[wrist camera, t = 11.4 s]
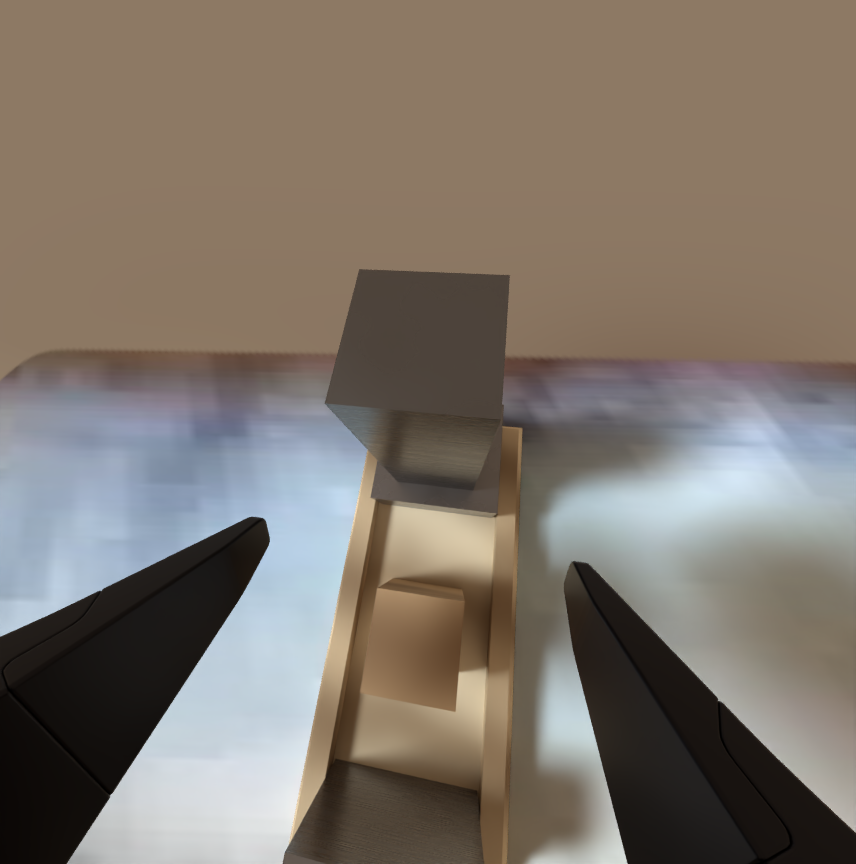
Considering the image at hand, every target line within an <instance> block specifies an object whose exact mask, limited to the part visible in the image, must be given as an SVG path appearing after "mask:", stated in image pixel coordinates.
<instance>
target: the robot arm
mask: <svg viewBox="0 0 856 864" xmlns="http://www.w3.org/2000/svg"><path fill="white" fill-rule="evenodd" d="M269 542H270V537H269V533H268V528H267V524H266V521H265V519H263V518H259V517H249V518H247V519H245V520H242V521H240V522H238V523H236V524H234V525H232V526H230V527H228V528H226V529H224V530H222V531H220V532H218V533H216V534H214V535H212V536H210V537H208V538H206V539H204V540H202V541H200V542H198V543H196V544H194V545H192V546H190V547H188V548H185V549H183V550H181V551H179V552H177V553H175V554H173V555H171V556H169V557H167V558H165V559H163V560H161V561H159V562H157V563H155V564H153V565H151V566H149V567H147V568H145V569H143V570H141V571H139V572H137V573H135V574H132V575H130V576H128V577H126V578H124V579H122V580H120V581H118V582H116V583H114V584H112V585H110V586H108V587H106V588H104V589H103V590H102V591H98V592H96V593H94V594H92V595H90V596H88V597H86V598H84V599H81V600H79V601H77V602H75V603H73V604H71V605H69V606H67V607H65V608H63V609H61V610H58V611H56V612H54V613H52V614H50V615H48V616H46V617H44V618H41V619H39V620H37V621H35V622H32V623H30V624H28V625H26V626H24V627H21V628H19V629H17V630H15V631H12V632H10V633H8V634H6V635H3V636H1V637H0V864H67V862H68V861H69V859H70V858H71V856H72V855H73V853H74V852H75V850H76V849H77V847H78V845H79V844H80V842H81V841H82V839H83V838H84V836H85V835H86V833H87V832H88V830H89V829H90V827H91V826H92V824H93V823H94V821H95V820H96V818H97V817H98V815H99V813H100V812H101V810H102V809H103V807H104V806H105V804H106V803H107V801H108V800H109V798H110V795H111V794H112V793H113V792H114V790H115V789H116V787H117V786H118V784H119V782H120V781H121V779H122V778H123V776H124V775H125V773H126V772H127V770H128V769H129V767H130V766H131V764H132V763H133V761H134V760H135V758H136V757H137V755H138V753H139V752H140V750H141V749H142V747H143V746H144V744H145V743H146V741H147V740H148V738H149V737H150V735H151V734H152V732H153V731H154V729H155V728H156V726H157V724H158V723H159V721H160V720H161V718H162V717H163V715H164V714H165V712H166V711H167V709H168V708H169V706H170V705H171V703H172V702H173V700H174V698H175V697H176V695H177V694H178V692H179V691H180V689H181V688H182V686H183V685H184V683H185V682H186V680H187V679H188V677H189V676H190V674H191V673H192V671H193V669H194V668H195V666H196V665H197V663H198V662H199V660H200V659H201V657H202V656H203V654H204V653H205V651H206V650H207V648H208V647H209V645H210V644H211V642H212V640H213V639H214V637H215V636H216V634H217V633H218V631H219V630H220V628H221V627H222V625H223V624H224V622H225V621H226V619H227V618H228V616H229V615H230V613H231V611H232V610H233V608H234V607H235V605H236V604H237V602H238V601H239V599H240V597H241V596H242V594H243V593H244V591H245V589H246V587H247V585H248V584H249V582H250V580H251V578H252V576H253V574H254V572H255V570H256V568H257V567H258V565H259V563H260V561H261V559H262V557H263V555H264V553H265V552H266V550H267V548H268V546H269ZM564 593H565V600H566V607H567V613H568V620H569V627H570V633H571V640H572V646H573V651H574V656H575V660H576V664H577V668H578V672H579V676H580V680H581V684H582V687H583V691H584V695H585V699H586V703H587V707H588V711H589V715H590V719H591V723H592V726H593V730H594V734H595V738H596V742H597V746H598V750H599V754H600V758H601V762H602V766H603V769H604V773H605V777H606V781H607V785H608V789H609V793H610V797H611V801H612V805H613V808H614V812H615V816H616V820H617V824H618V828H619V832H620V836H621V840H622V844H623V848H624V851H625V855H626V859H627V863H628V864H856V833H855V832H854V831H853V830H852V829H851V828H850V827H849V826H848V825H847V824H846V823H845V822H844V821H842V820H841V819H840V818H839V817H838V816H837V815H836V814H835V813H834V812H833V811H832V810H831V809H830V808H829V807H828V806H827V805H825V804H824V803H823V802H822V801H821V800H820V799H819V798H818V797H817V796H816V795H815V794H814V793H813V792H812V791H811V790H810V789H809V788H808V787H807V786H805V785H804V784H803V783H802V782H801V781H800V780H799V779H798V778H797V777H796V776H795V775H794V774H793V773H792V772H791V771H790V770H789V769H788V768H787V767H786V766H785V765H784V764H783V763H782V762H781V761H780V760H778V759H777V758H776V757H775V756H774V755H773V754H772V753H771V752H770V751H769V750H768V749H767V748H766V747H765V746H764V745H763V744H762V743H761V742H760V741H759V740H758V739H757V738H756V737H755V736H754V734H753V733H752V732H751V731H750V730H749V729H748V728H747V727H746V726H745V725H744V724H743V723H742V722H741V721H740V720H739V719H738V718H737V717H736V716H735V715H734V714H733V713H732V712H731V711H730V710H729V709H728V708H727V707H726V706H725V705H724V704H723V703H722V702H721V701H718V698H717V697H716V696H715V695H714V693H713V692H712V691H711V690H710V689H709V688H708V687H707V686H706V685H705V684H704V683H703V682H702V681H701V680H700V679H699V678H698V677H697V676H696V675H695V674H694V673H693V672H692V671H691V670H690V669H689V667H688V666H687V665H686V664H685V663H684V662H683V661H682V660H681V659H680V658H679V657H678V656H677V655H676V654H675V653H674V652H673V651H672V650H671V649H670V648H669V647H668V646H667V645H666V644H665V643H664V642H663V640H662V639H661V638H660V637H659V636H658V635H657V634H656V633H655V632H654V631H653V630H652V629H651V628H650V627H649V626H648V625H647V624H646V623H645V622H644V621H643V620H642V619H641V618H640V617H639V616H638V614H637V613H636V612H635V611H634V610H633V609H632V608H631V607H630V606H629V605H628V604H627V603H626V602H625V601H624V600H623V599H622V598H621V597H620V596H619V595H618V594H617V593H616V592H615V591H614V590H613V589H612V587H611V586H610V585H609V584H608V583H607V582H606V581H605V580H604V579H603V578H602V577H601V576H600V575H599V574H598V573H597V572H596V571H595V570H594V569H593V568H592V567H591V566H590V565H589V564H588V563H583V562H576V561H573V562H571V564H570V566H569V569H568V572H567V575H566V579H565V582H564Z"/></svg>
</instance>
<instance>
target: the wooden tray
mask: <svg viewBox="0 0 856 864" xmlns="http://www.w3.org/2000/svg"><path fill="white" fill-rule="evenodd" d="M521 452H522V428H516V427H506V426H502V444H501V461H500V479H499V496H498V514H496V515H495V516H493V517H491V518H487V517H479V516H471V515H464V514H456V513H448V512H440V511H432V510H424V509H417V508H409V507H401V506H393V505H385V504H381V503H379V502H378V501H376V500H374V499H372V498H370V497H371V492H372V486H373V481H374V476H375V470H376V465H377V459H376V458H375V457H374V456H373V455H372V454H371V453H370V452H369V451H367V456H366V461H365V466H364V471H363V476H362V481H361V486H360V491H359V496H358V501H357V506H356V511H355V516H354V521H353V526H352V531H351V536H350V541H349V546H348V551H347V556H346V561H345V566H344V571H343V576H342V581H341V586H340V591H339V596H338V601H337V606H336V611H335V616H334V621H333V626H332V631H331V636H330V641H329V646H328V651H327V656H326V661H325V666H324V671H323V676H322V681H321V686H320V691H319V696H318V701H317V706H316V711H315V716H314V721H313V726H312V731H311V736H310V741H309V746H308V751H307V756H306V761H305V766H304V771H303V776H302V781H301V786H300V791H299V796H298V801H297V806H296V811H295V816H294V821H293V826H292V831H291V836H290V841H289V844H290V842H291V840H292V838H293V837H294V835H295V833H296V831H297V829H298V827H299V826H300V824H301V822H302V820H303V818H304V816H305V814H306V813H307V811H308V809H309V807H310V805H311V803H312V802H313V800H314V798H315V796H316V794H317V792H318V790H319V789H320V787H321V785H322V783H323V781H324V779H325V777H326V776H327V774H328V772H329V770H330V768H331V766H332V765H333V763H334V761H335V759H340V760H345V761H349V762H353V763H358V764H362V765H367V766H371V767H375V768H380V769H384V770H389V771H393V772H397V773H402V774H406V775H411V776H415V777H419V778H424V779H428V780H433V781H437V782H441V783H446V784H450V785H455V786H459V787H463V788H468V789H472V790H477V795H478V805H479V815H480V826H481V836H482V847H483V857H484V864H507V848H508V819H509V791H510V763H511V735H512V706H513V678H514V650H515V622H516V593H517V565H518V537H519V508H520V480H521ZM393 578H395V579H401V580H407V581H414V582H420V583H427V584H433V585H440V586H446V587H453V588H459V589H462V591H463V596H464V601H465V603H464V615H463V627H462V640H461V652H460V664H459V676H458V688H457V700H456V712H452V711H447V710H442V709H437V708H432V707H427V706H422V705H417V704H412V703H407V702H402V701H397V700H392V699H387V698H382V697H377V696H373V695H368V694H363V693H360V690H361V684H362V678H363V672H364V666H365V659H366V653H367V647H368V641H369V635H370V629H371V623H372V617H373V611H374V605H375V599H376V593H377V588H378V587H380V586H381V585H383V584H385V583H386V582H388V581H389V580H391V579H393Z"/></svg>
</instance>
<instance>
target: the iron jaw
mask: <svg viewBox="0 0 856 864" xmlns="http://www.w3.org/2000/svg"><path fill="white" fill-rule="evenodd" d="M283 864H484V857H483V847H482V836H481V826H480V815H479V805H478V795H477V790H472V789H468V788H463V787H459V786H455V785H450V784H446V783H441V782H437V781H433V780H428V779H424V778H419V777H415V776H411V775H406V774H402V773H397V772H393V771H389V770H384V769H380V768H375V767H371V766H367V765H362V764H358V763H353V762H349V761H345V760H340V759H335V761H334V763H333V765H332V766H331V768H330V770H329V772H328V774H327V776H326V777H325V779H324V781H323V783H322V785H321V787H320V789H319V790H318V792H317V794H316V796H315V798H314V800H313V802H312V803H311V805H310V807H309V809H308V811H307V813H306V814H305V816H304V818H303V820H302V822H301V824H300V826H299V827H298V829H297V831H296V833H295V835H294V837H293V838H292V840H291V842H290V844H289V846H288V848H287V850H286V851H285V855H284V860H283Z"/></svg>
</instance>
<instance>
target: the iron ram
mask: <svg viewBox="0 0 856 864" xmlns="http://www.w3.org/2000/svg"><path fill="white" fill-rule="evenodd" d="M509 278H510V277H509V275H488V274H487V275H486V274H464V273H462V274H461V273H438V272H413V271H412V272H411V271H388V270H362V269H360V270H359V273H358V277H357V281H356V285H355V289H354V293H353V296H352V300H351V304H350V308H349V312H348V316H347V319H346V323H345V327H344V331H343V335H342V339H341V343H340V347H339V350H338V354H337V358H336V362H335V366H334V370H333V374H332V377H331V381H330V385H329V389H328V393H327V397H326V401H325V404H326V405H327V406H328V408H329V409H330V410H331V411H332V412H333V413H334V414H335V415H336V416H337V417H338V418H339V419H340V420H341V421H342V423H343V424H344V425H345V426H346V427H347V428H348V429H349V430H350V431H351V432H352V433H353V434H354V435H355V437H356V438H357V439H358V440H359V441H360V442H361V443H362V444H363V445H364V446H365V447H366V448H367V449H368V451H369V452H370V453H371V454H372V455H373V456H374V457H375V458H376V459H377V465H376V470H375V476H374V481H373V486H372V492H371V497H370V498H372V499H374V500H376V501H378V502H379V503H381V504H385V505H393V506H401V507H409V508H417V509H424V510H432V511H440V512H448V513H456V514H464V515H471V516H479V517H487V518H491V517H493V516H495V515H496V514H498V496H499V479H500V461H501V444H502V426H503V409H504V405H502V396H503V379H504V362H505V345H506V328H507V311H508V310H507V309H508V294H509Z"/></svg>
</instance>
